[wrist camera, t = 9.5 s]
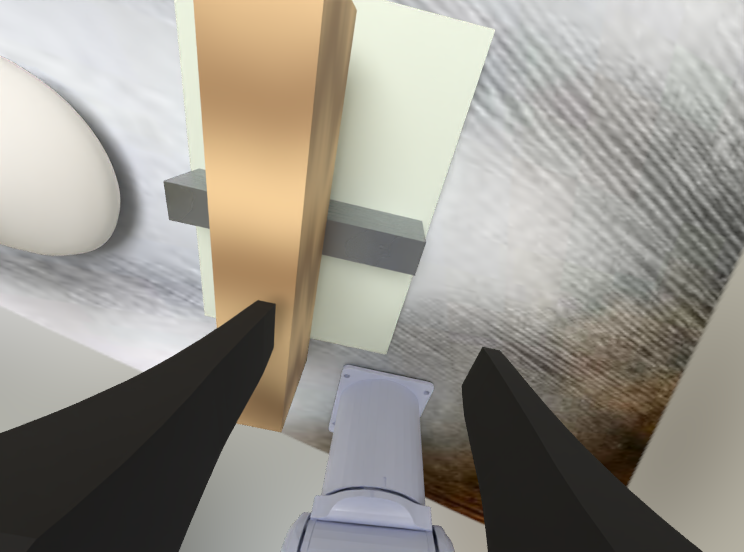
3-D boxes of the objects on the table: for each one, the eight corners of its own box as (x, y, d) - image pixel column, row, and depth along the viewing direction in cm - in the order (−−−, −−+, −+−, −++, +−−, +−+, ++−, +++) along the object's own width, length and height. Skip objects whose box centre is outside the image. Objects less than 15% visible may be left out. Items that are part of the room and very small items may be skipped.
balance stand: (386, 343, 24) (384, 386, 21) (213, 306, 24) (179, 343, 20) (488, 34, 14) (518, 12, 10) (186, -46, 13) (108, -99, 10)
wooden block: (306, 360, 20) (281, 432, 16) (261, 350, 20) (223, 420, 15) (357, 10, 11) (328, -49, 6) (273, -12, 11) (186, -87, 6)
